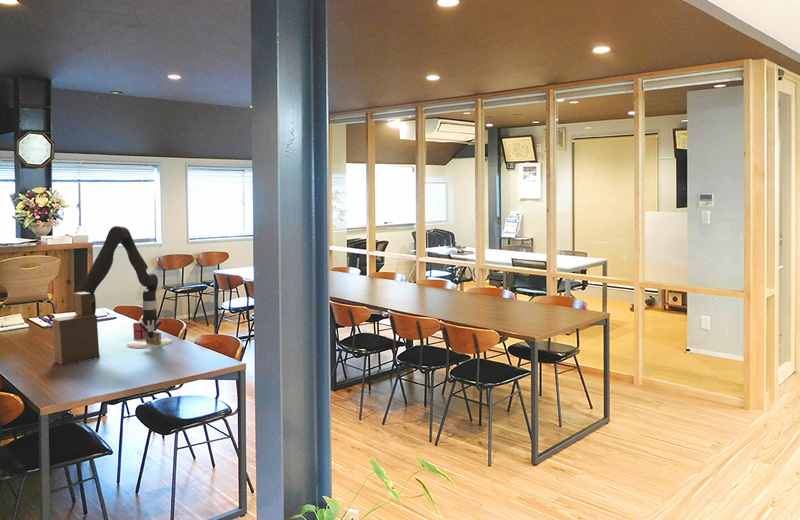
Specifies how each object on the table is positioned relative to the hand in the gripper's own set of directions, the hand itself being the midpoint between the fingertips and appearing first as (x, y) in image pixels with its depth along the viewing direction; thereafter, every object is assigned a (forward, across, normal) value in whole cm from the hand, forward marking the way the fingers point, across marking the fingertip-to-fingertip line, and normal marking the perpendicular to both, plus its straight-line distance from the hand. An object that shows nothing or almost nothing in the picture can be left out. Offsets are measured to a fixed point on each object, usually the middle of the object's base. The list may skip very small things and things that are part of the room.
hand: (150, 337), depth 362 cm
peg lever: (+4, +3, +3) cm, 6 cm away
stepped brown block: (+6, -38, -7) cm, 40 cm away
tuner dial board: (+5, +1, +8) cm, 10 cm away
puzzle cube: (+6, +3, +28) cm, 28 cm away
